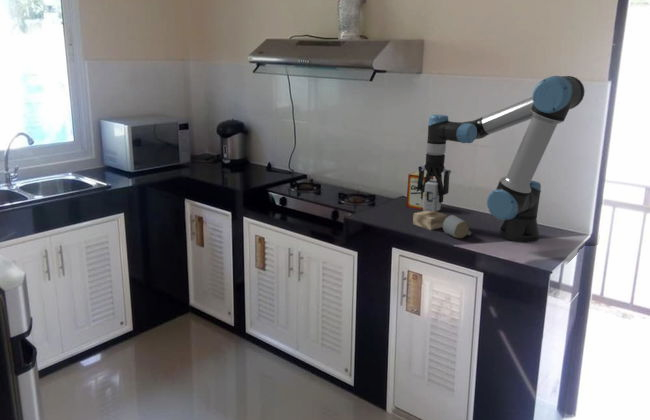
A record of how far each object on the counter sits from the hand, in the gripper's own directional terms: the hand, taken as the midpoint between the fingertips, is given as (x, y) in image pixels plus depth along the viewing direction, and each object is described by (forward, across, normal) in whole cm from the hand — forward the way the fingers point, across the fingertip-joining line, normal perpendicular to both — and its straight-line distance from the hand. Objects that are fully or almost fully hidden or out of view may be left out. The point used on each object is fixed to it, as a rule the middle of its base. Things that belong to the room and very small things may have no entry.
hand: (431, 208), depth 230 cm
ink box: (+1, 0, 0) cm, 1 cm away
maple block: (+8, 0, 0) cm, 8 cm away
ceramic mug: (+8, -15, +5) cm, 18 cm away
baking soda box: (+8, +17, -22) cm, 29 cm away
